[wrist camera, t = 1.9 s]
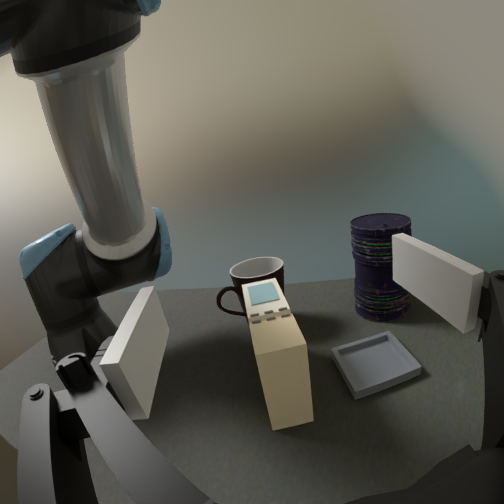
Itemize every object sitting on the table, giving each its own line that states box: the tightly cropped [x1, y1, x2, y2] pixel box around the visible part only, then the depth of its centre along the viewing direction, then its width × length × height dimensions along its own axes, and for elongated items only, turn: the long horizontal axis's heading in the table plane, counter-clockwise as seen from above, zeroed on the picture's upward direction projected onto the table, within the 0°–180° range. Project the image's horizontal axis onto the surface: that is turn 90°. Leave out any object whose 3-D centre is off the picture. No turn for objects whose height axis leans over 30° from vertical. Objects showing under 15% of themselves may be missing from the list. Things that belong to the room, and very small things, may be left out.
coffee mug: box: [217, 257, 284, 327], centre depth 49 cm, size 12×9×10 cm
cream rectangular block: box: [249, 313, 314, 431], centre depth 29 cm, size 4×6×11 cm
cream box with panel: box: [242, 278, 291, 323], centre depth 37 cm, size 4×9×11 cm, turn 6°
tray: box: [331, 331, 422, 400], centre depth 34 cm, size 9×9×1 cm
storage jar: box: [350, 213, 412, 322], centre depth 44 cm, size 10×10×15 cm
